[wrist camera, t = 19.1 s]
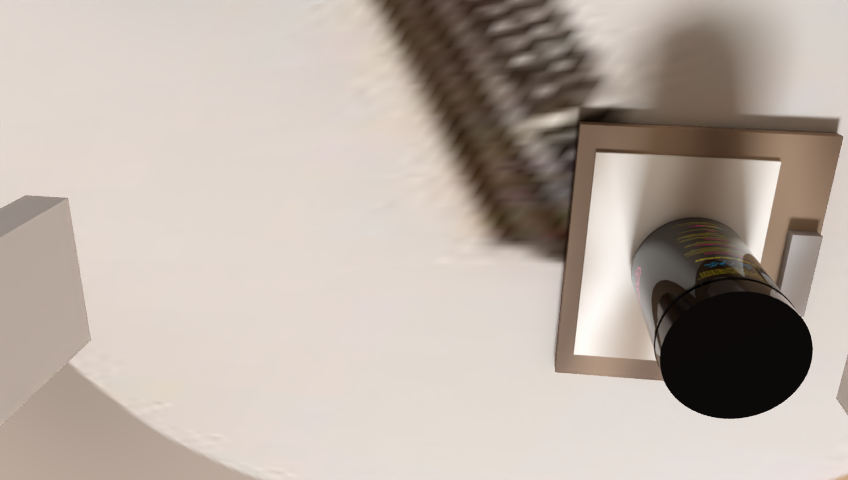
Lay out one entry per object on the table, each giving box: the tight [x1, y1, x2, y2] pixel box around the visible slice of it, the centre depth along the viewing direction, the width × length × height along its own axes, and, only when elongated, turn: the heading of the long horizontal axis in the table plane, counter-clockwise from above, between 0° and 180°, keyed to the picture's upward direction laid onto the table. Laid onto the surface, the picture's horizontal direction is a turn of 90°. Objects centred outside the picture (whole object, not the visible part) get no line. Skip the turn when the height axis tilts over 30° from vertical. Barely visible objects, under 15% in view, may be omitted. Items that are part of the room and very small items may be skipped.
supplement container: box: [631, 217, 813, 419], centre depth 39 cm, size 7×7×10 cm
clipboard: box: [555, 121, 843, 381], centre depth 44 cm, size 14×16×2 cm
